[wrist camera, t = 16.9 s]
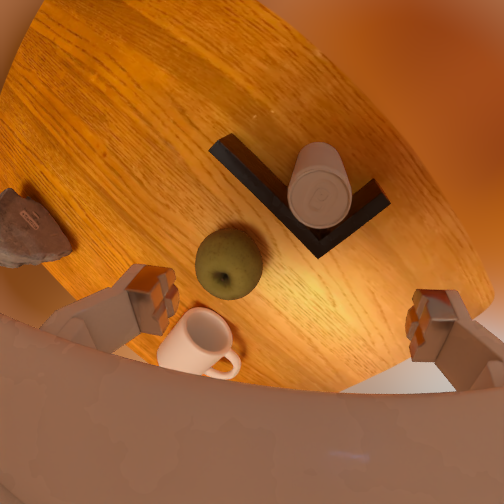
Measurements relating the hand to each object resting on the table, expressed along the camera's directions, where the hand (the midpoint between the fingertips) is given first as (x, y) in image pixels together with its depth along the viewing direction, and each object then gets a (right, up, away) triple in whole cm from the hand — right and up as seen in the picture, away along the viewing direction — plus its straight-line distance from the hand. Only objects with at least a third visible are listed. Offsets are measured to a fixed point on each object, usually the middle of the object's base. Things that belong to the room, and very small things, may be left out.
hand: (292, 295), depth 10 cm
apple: (-3, +2, +29) cm, 29 cm away
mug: (-8, -12, +38) cm, 40 cm away
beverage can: (+6, +11, +22) cm, 25 cm away
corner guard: (+4, +11, +22) cm, 25 cm away
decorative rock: (-36, +8, +34) cm, 50 cm away
